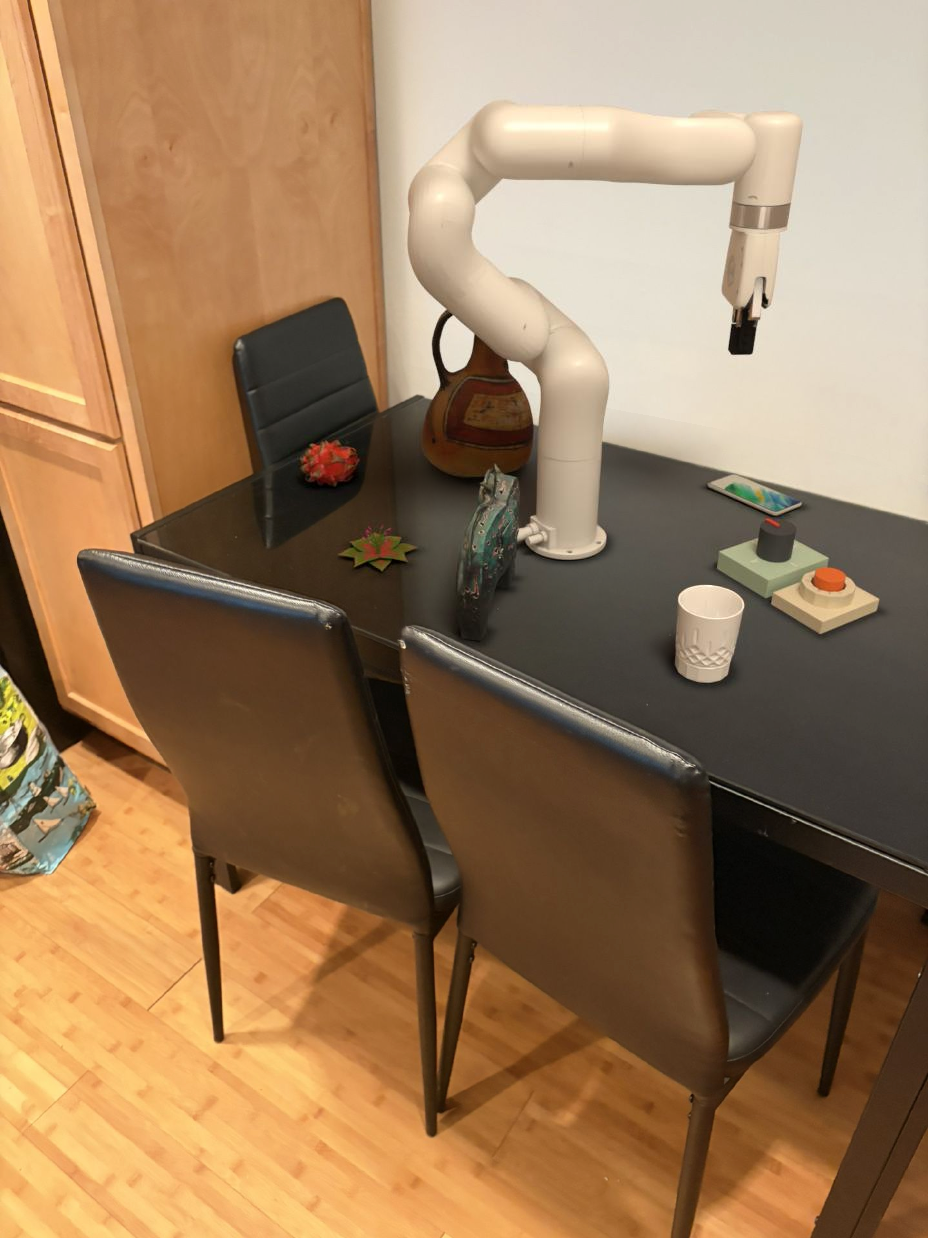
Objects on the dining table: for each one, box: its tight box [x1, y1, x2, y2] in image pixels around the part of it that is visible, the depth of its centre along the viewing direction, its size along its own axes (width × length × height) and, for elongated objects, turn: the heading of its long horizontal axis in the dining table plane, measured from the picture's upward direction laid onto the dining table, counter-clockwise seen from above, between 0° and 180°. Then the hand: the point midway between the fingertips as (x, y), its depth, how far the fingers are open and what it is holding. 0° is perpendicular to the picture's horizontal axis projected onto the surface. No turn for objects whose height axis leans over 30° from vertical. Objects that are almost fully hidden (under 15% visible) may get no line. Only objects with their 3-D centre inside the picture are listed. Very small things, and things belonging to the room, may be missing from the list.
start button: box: [813, 566, 847, 592], centre depth 132 cm, size 4×4×2 cm
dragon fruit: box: [299, 439, 361, 488], centre depth 171 cm, size 8×8×12 cm
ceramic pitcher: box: [421, 309, 535, 478], centre depth 169 cm, size 20×20×30 cm
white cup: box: [674, 584, 745, 684], centre depth 120 cm, size 8×8×10 cm
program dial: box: [756, 517, 797, 562], centre depth 140 cm, size 5×5×5 cm
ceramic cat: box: [454, 464, 521, 642], centre depth 131 cm, size 20×6×20 cm, turn 163°
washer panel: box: [716, 537, 830, 599], centre depth 142 cm, size 12×10×3 cm
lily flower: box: [337, 524, 419, 572], centre depth 149 cm, size 12×12×5 cm
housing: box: [770, 571, 880, 635], centre depth 133 cm, size 11×9×4 cm
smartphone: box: [707, 473, 802, 517], centre depth 164 cm, size 7×1×15 cm
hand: (740, 352), depth 138 cm, fingers closed
